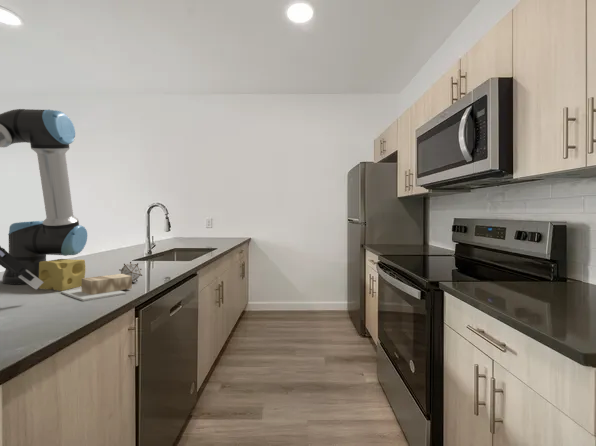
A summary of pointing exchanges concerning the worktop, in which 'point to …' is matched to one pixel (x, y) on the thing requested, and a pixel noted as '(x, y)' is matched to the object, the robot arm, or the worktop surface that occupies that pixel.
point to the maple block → (106, 283)
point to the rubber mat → (84, 296)
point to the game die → (131, 271)
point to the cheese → (61, 274)
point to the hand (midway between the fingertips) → (39, 285)
